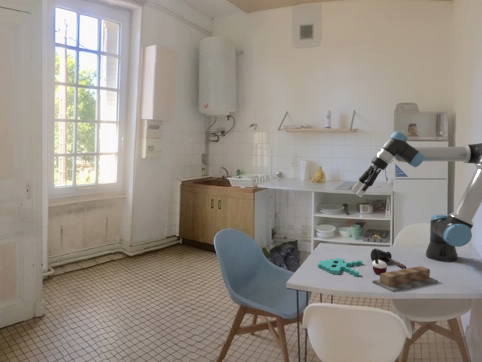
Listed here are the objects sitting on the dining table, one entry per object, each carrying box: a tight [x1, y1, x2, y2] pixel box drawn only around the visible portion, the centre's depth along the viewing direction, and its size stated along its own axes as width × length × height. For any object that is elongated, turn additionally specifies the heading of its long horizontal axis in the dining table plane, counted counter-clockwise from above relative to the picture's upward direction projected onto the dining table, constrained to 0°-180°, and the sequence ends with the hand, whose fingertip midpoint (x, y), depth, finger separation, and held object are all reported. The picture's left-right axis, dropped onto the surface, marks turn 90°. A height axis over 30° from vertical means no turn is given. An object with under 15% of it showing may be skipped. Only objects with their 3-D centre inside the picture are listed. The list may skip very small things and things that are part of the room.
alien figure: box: [317, 257, 363, 277], centre depth 199 cm, size 20×2×20 cm
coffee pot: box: [370, 248, 407, 269], centre depth 203 cm, size 8×18×8 cm
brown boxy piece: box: [372, 266, 439, 293], centre depth 177 cm, size 26×12×5 cm, turn 113°
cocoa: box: [371, 249, 388, 276], centre depth 189 cm, size 10×6×12 cm, turn 110°
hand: (355, 194), depth 202 cm, fingers open, 13 cm apart
